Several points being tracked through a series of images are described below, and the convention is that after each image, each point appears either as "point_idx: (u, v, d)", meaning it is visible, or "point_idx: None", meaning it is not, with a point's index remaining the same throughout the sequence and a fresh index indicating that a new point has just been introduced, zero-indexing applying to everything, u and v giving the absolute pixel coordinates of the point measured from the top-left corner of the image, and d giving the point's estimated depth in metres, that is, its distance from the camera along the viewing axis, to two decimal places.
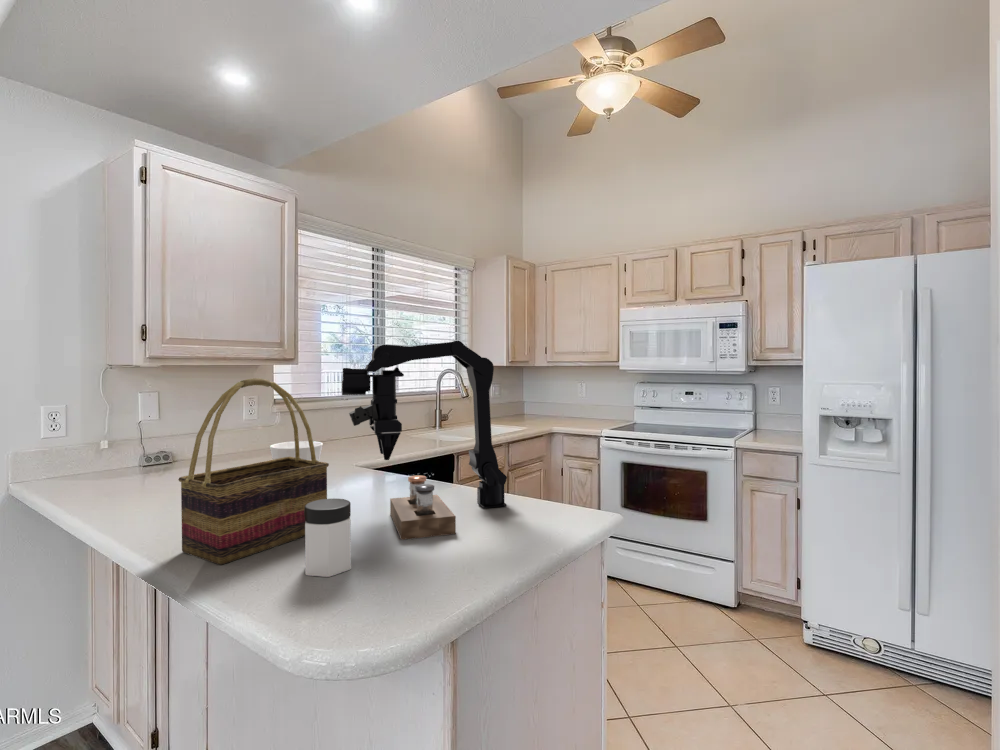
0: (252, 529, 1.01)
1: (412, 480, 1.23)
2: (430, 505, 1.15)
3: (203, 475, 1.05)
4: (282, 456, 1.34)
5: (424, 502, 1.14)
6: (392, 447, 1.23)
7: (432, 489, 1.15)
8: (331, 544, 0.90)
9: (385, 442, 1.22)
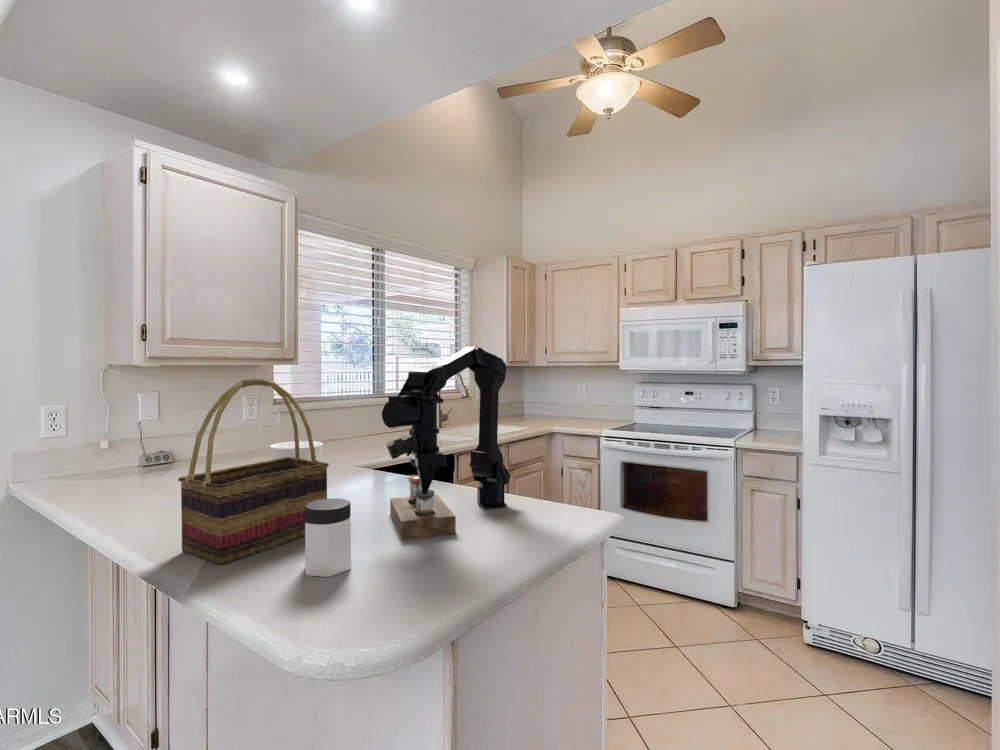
0: (252, 529, 1.01)
1: (412, 480, 1.23)
2: (430, 510, 1.15)
3: (203, 475, 1.05)
4: (282, 456, 1.34)
5: (424, 508, 1.14)
6: (431, 478, 1.15)
7: (432, 494, 1.15)
8: (331, 544, 0.90)
9: (424, 473, 1.14)
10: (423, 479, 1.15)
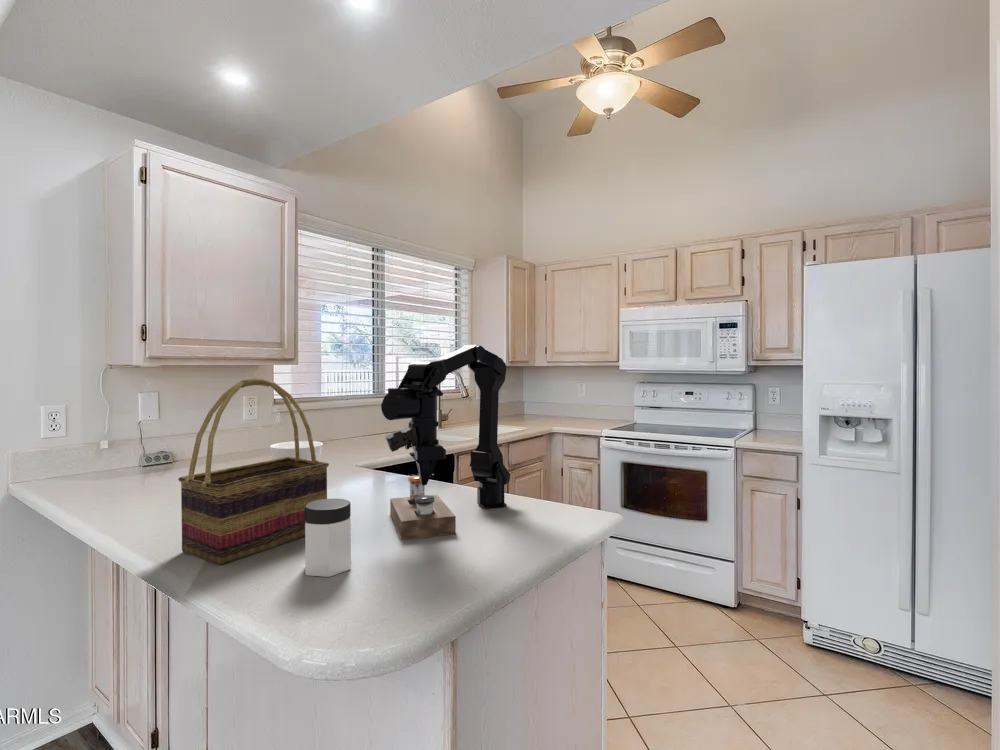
0: (252, 529, 1.01)
1: (412, 480, 1.23)
2: None
3: (203, 475, 1.05)
4: (282, 456, 1.34)
5: (424, 514, 1.14)
6: (430, 471, 1.15)
7: (432, 500, 1.15)
8: (331, 544, 0.90)
9: (423, 466, 1.14)
10: (422, 472, 1.14)
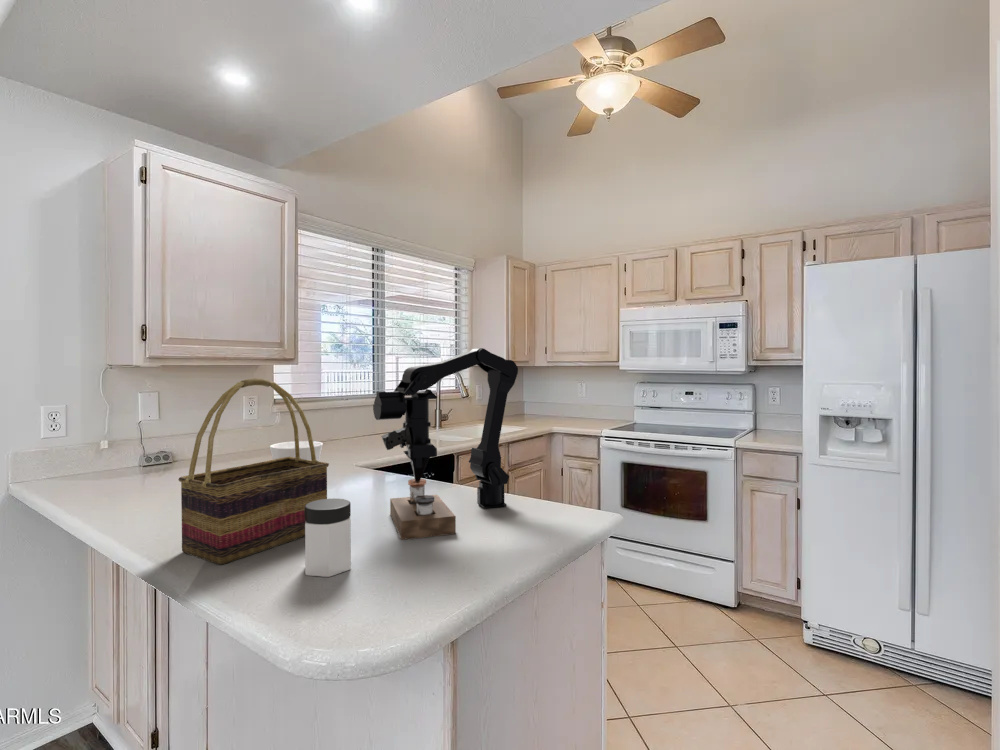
0: (252, 529, 1.01)
1: (412, 483, 1.23)
2: None
3: (203, 475, 1.05)
4: (282, 456, 1.34)
5: (424, 514, 1.14)
6: (423, 468, 1.25)
7: (432, 500, 1.15)
8: (331, 544, 0.90)
9: (416, 463, 1.24)
10: (416, 469, 1.24)
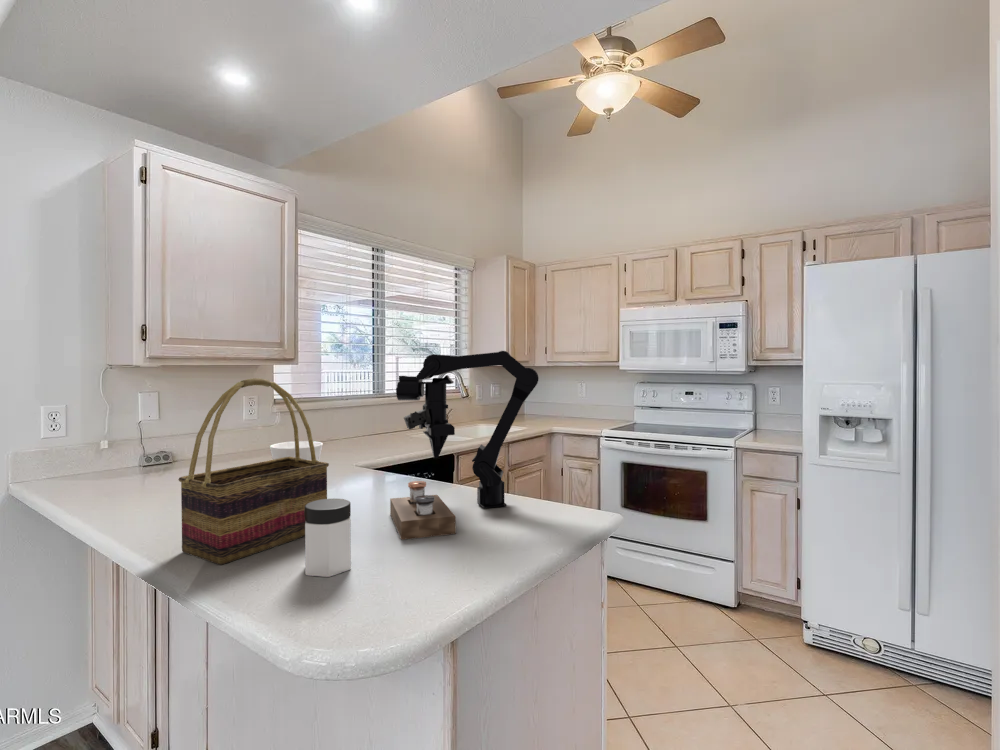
0: (252, 529, 1.01)
1: (412, 486, 1.23)
2: None
3: (203, 475, 1.05)
4: (282, 456, 1.34)
5: (424, 514, 1.14)
6: (441, 446, 1.37)
7: (432, 500, 1.15)
8: (331, 544, 0.90)
9: (435, 442, 1.36)
10: (434, 447, 1.37)
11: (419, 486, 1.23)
